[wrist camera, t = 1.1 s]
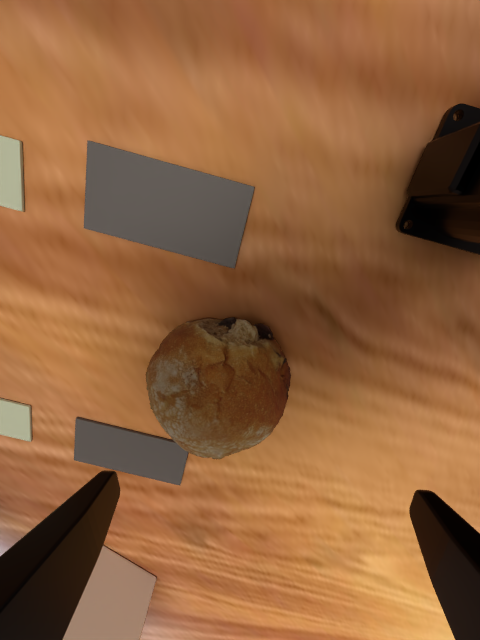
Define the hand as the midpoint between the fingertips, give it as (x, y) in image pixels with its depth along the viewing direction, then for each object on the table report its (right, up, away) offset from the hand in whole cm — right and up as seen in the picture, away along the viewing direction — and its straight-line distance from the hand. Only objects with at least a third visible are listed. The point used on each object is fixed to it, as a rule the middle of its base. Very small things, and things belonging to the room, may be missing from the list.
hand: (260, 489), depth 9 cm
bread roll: (-2, +1, +14) cm, 14 cm away
